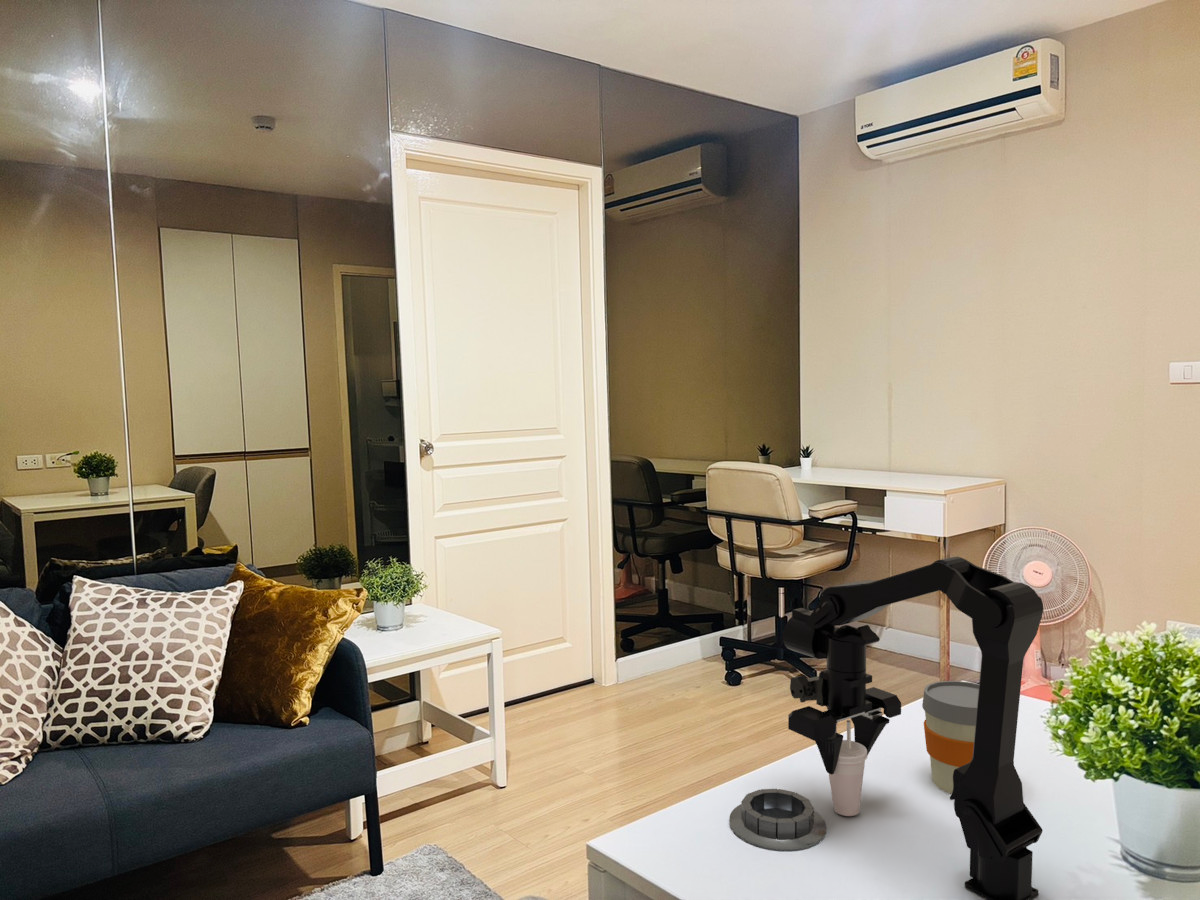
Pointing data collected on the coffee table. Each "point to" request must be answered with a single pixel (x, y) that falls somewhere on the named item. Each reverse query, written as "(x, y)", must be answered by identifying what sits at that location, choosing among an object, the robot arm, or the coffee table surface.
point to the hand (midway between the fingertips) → (845, 767)
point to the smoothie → (848, 776)
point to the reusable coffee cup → (949, 727)
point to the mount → (777, 820)
